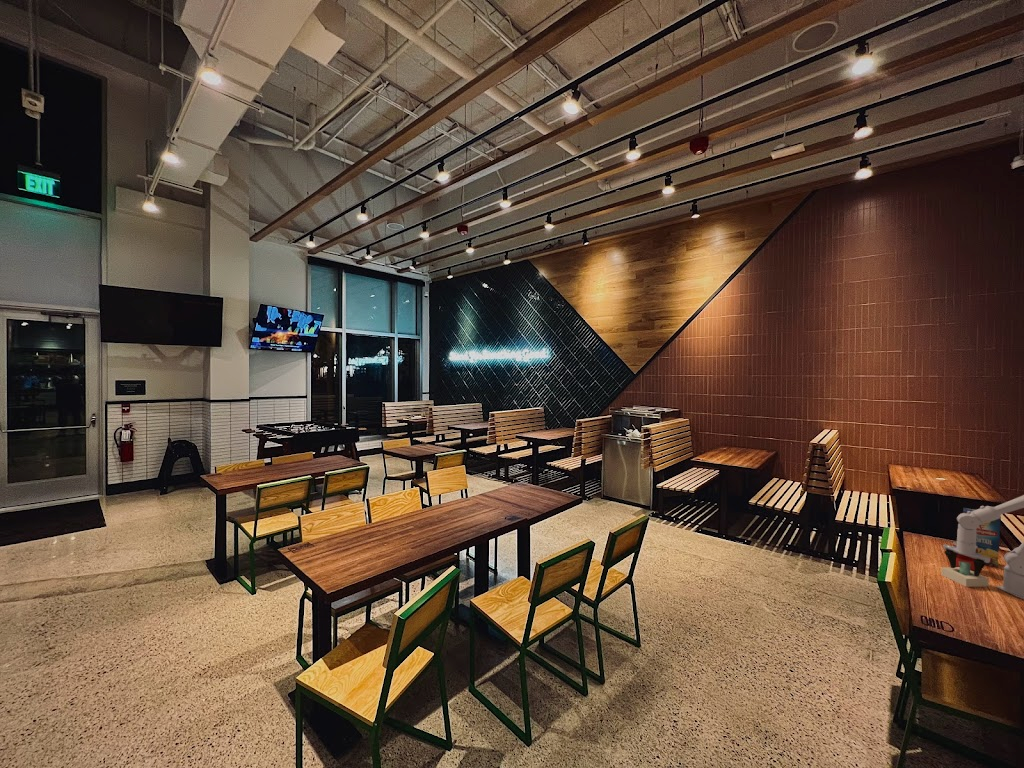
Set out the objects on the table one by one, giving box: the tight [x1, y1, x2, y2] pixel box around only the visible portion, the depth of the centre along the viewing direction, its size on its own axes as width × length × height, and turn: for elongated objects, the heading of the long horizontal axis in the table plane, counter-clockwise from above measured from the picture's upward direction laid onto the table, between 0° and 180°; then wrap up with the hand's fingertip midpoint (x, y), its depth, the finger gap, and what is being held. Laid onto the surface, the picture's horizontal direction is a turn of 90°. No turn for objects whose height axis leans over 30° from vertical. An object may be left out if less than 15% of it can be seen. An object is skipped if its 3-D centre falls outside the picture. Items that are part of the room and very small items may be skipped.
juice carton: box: [962, 507, 1002, 569], centre depth 203 cm, size 12×8×24 cm, turn 42°
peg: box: [959, 561, 971, 576], centre depth 186 cm, size 3×3×8 cm
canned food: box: [952, 540, 978, 572], centre depth 197 cm, size 8×8×11 cm
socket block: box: [940, 566, 990, 588], centre depth 186 cm, size 10×10×4 cm
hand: (964, 571), depth 186 cm, fingers open, 7 cm apart
